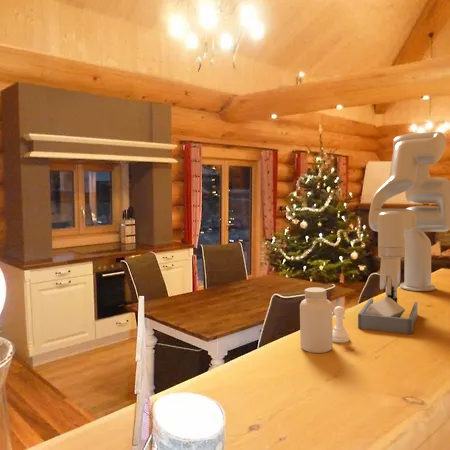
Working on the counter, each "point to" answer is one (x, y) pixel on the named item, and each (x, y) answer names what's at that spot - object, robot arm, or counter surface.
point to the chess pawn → (339, 326)
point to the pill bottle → (316, 321)
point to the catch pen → (387, 321)
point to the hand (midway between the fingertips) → (391, 310)
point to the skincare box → (385, 308)
